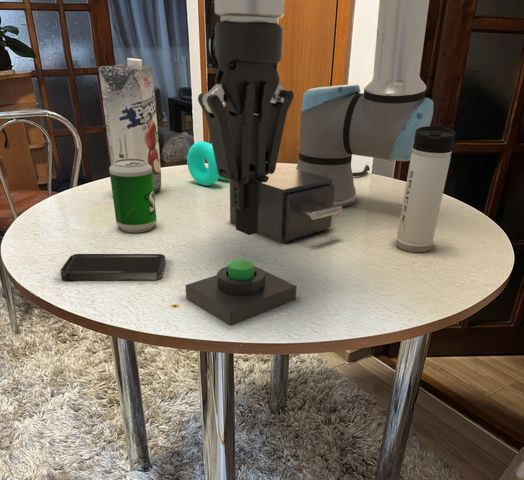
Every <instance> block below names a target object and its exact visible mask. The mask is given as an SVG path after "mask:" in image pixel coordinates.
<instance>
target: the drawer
mask: <svg viewBox="0 0 524 480" xmlns="http://www.w3.org/2000/svg"><path fill="white" fill-rule="evenodd" d="M334 189H335V186H333V185H326V186H318V187H314V188H309V189H305V190H300V191H296V192H292V193H287V194H286V196H285V216H284V237H283V238H284V239H286V240H290V239H293V238H297V237H300V236H303V235H307V234H310V233H313V232H317V231H320V230H323V229H327V228H328V229H330V228H331V227H332V219H333V215H336V214H340V213H342V212H343V210H344V209H343V208H344V207H342V206H341V205H336V206H334V205H333V199H334Z"/></svg>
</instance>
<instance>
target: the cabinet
mask: <svg viewBox="0 0 524 480" xmlns="http://www.w3.org/2000/svg"><path fill="white" fill-rule="evenodd" d="M266 176H268V177H269V179H268V181H267V182H262V193H261V194H262V196H261V197H262V198H261V204H260V205H258V232H257V233H255V234H256V235H258V236H261V237H264V238H266V239H268V240H271V241H273V242H276V243H278V244H284V243H288V242H291V241H294V240H298V239H300V238H301V239H302V238H304V237H307V236H310V235H315V234H318V233H321V232H324V231H327V230H328V229H329V228H327V229H323V230H320V231H317V232H313V233H310V234H307V235H303V236H300V237H297V238H293V239H290V240H286V239H284V238H283V237H284V216H285V196H286V194H287V193H292V192H296V191H300V190H305V189H309V188H314V187H318V186H326V185H332V179H330V178H326V177H323V176H319V175H315V174H312V173H308V172H304V171H301V170H297V169H296V168H293V167H289V166H286V165H282V164H276V168H275V172H274V173H273V174H268V175H266ZM229 223H230V224H232V225H235V226H236V208H235V207H233V204H232V182H231V180H229Z"/></svg>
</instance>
